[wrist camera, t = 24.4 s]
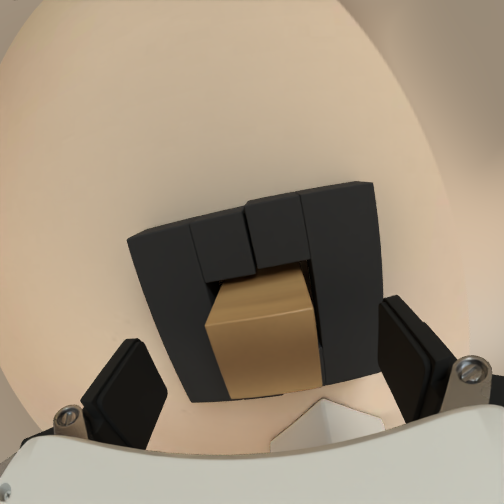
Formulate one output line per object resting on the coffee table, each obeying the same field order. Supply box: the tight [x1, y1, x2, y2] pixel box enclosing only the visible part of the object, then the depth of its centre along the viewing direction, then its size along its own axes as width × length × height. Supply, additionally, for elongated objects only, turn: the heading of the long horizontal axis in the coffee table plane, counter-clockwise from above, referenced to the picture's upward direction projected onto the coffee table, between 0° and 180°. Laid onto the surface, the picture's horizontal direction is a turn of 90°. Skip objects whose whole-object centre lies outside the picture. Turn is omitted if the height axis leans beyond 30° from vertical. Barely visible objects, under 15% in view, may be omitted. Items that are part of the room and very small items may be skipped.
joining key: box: [205, 262, 322, 399], centre depth 13 cm, size 4×4×6 cm
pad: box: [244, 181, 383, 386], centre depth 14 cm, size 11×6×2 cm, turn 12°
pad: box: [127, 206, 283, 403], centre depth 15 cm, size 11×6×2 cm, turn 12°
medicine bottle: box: [270, 399, 385, 453], centre depth 13 cm, size 7×7×12 cm
